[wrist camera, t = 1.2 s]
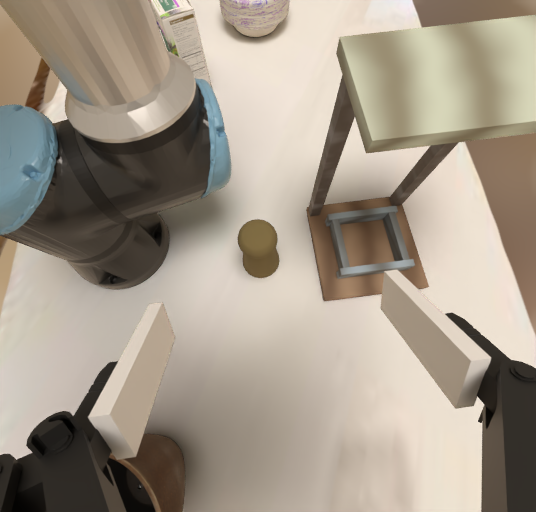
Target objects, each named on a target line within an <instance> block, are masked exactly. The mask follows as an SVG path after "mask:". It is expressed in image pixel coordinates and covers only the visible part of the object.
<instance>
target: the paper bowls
mask: <svg viewBox="0 0 536 512" xmlns="http://www.w3.org/2000/svg"><path fill="white" fill-rule="evenodd" d="M220 7H221V11H222V15H223V17H224V18H225V20H226V21H227V22H229V23H230V24H232V25H233V26H234V27H235V28H236V29H237V30H238V31H239V32H240V33H241V34H243V35H246V36H250V37H261V36H265V35H267V34H269V33H271V32H272V31H273V30H274V29H275V28H276V27H277V25H278V24H279V23H280V22H282V21H283V20H284V19H285V18H286V16H287V14H288V11H289V0H220Z"/></svg>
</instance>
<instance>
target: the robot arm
mask: <svg viewBox="0 0 536 512" xmlns="http://www.w3.org/2000/svg"><path fill="white" fill-rule="evenodd" d="M0 5H1V6H2V7H3V9H4V10H5V11H6V12H7V14H8V15H9V16H10V17H11V19H12V20H13V21H14V23H15V24H16V25H17V26H18V28H19V29H20V30H21V32H22V33H23V34H24V35H25V36H26V38H27V39H28V40H29V42H30V43H31V44H32V45H33V47H34V48H35V49H36V50H37V52H38V53H39V54H40V56H41V57H42V58H43V59H44V61H45V62H46V63H47V65H48V66H49V67H50V68H51V70H52V71H53V72H54V73H55V75H56V76H57V77H58V79H59V80H60V81H61V82H62V84H63V85H64V86H65V87H66V89H67V94H66V100H65V112H66V115H67V118H68V119H67V120H64V121H61V122H57V123H52V122H51V121H50V120H49V118H47V116H45V115H44V114H42V113H39V112H37V111H36V110H34V109H33V108H30V107H23V106H21V105H5V106H0V236H3V237H6V238H8V239H11V240H14V241H16V242H19V243H22V244H24V245H27V246H30V247H32V248H35V249H38V250H40V251H43V252H46V253H48V254H51V255H54V256H56V257H59V258H62V259H64V260H67V261H68V262H69V264H70V265H71V266H72V267H73V268H74V269H75V270H76V271H77V272H78V273H79V274H80V275H81V276H82V277H83V278H84V279H86V280H87V281H89V282H91V283H93V284H96V285H98V286H102V287H105V288H109V289H124V288H129V287H132V286H135V285H137V284H139V283H141V282H143V281H145V280H146V279H148V278H149V277H150V276H151V275H153V274H154V273H155V272H156V271H157V269H158V268H159V267H160V266H161V264H162V263H163V261H164V259H165V257H166V254H167V251H168V247H169V233H168V229H167V226H166V224H165V222H164V221H163V219H162V218H161V217H160V216H159V215H158V214H157V212H160V211H163V210H166V209H169V208H172V207H175V206H178V205H181V204H184V203H187V202H190V201H193V200H196V199H199V198H204V197H205V196H207V195H208V194H209V193H212V192H214V191H217V190H219V189H221V188H223V187H225V186H226V185H227V183H228V182H229V180H230V176H231V157H230V150H229V144H228V139H227V136H226V133H225V132H224V123H223V118H222V114H221V111H220V108H219V105H218V102H217V99H216V96H215V94H214V92H213V90H212V88H211V86H210V84H209V83H208V82H207V81H206V80H204V79H196V78H194V75H193V72H192V70H191V68H190V67H189V66H188V64H187V63H186V62H185V61H184V60H183V59H181V58H180V57H178V56H176V55H174V54H173V53H171V52H169V51H167V49H166V47H165V44H164V41H163V39H162V36H161V33H160V31H159V28H158V25H157V22H156V20H155V17H154V14H153V12H152V9H151V6H150V3H149V1H148V0H0ZM381 310H382V311H383V312H384V314H385V315H386V316H387V318H388V319H389V320H390V322H391V323H392V324H393V326H394V327H395V328H396V330H397V331H398V332H399V334H400V335H401V336H402V338H403V339H404V340H405V342H406V343H407V344H408V346H409V347H410V349H411V350H412V351H413V353H414V354H415V355H416V357H417V358H418V359H419V361H420V362H421V363H422V365H423V366H424V367H425V369H426V370H427V371H428V373H429V374H430V375H431V377H432V378H433V379H434V381H435V382H436V383H437V385H438V386H439V387H440V389H441V390H442V391H443V393H444V394H445V395H446V397H447V398H448V399H449V401H450V402H451V403H452V405H453V406H454V407H455V409H456V408H463V407H469V406H474V403H475V401H476V398H477V396H478V397H479V399H480V400H481V401H482V402H483V403H484V404H485V405H484V407H483V410H482V412H481V415H480V417H479V420H478V422H480V423H482V421H483V427H482V510H481V512H536V369H535V368H534V367H532V366H530V365H528V364H525V363H523V362H519V361H514V360H510V359H509V358H508V357H507V356H506V355H505V354H504V353H502V352H501V351H500V350H499V349H498V348H497V347H496V346H494V345H493V344H492V343H491V342H490V341H489V340H488V339H486V338H485V337H484V336H483V335H481V333H480V332H478V331H477V330H476V329H474V328H473V326H472V325H470V324H469V323H468V322H467V321H466V320H465V319H463V318H461V317H459V316H457V315H456V314H454V313H447V314H444V313H443V312H442V311H441V310H440V309H439V308H438V307H437V306H435V305H434V304H433V303H432V302H431V301H430V300H429V299H428V298H427V297H426V296H425V295H424V294H423V293H422V292H421V291H419V290H418V289H417V288H416V287H415V286H414V285H413V284H412V283H411V282H410V281H409V280H408V279H407V278H406V277H404V276H403V275H402V274H401V273H400V272H399V271H398V270H390V271H384V280H383V290H382V300H381ZM174 340H175V335H174V333H173V330H172V327H171V324H170V322H169V319H168V316H167V313H166V311H165V308H164V305H163V302H161V303H153V304H149V306H148V307H147V309H146V311H145V313H144V315H143V317H142V318H141V320H140V322H139V324H138V326H137V328H136V330H135V331H134V333H133V335H132V337H131V339H130V341H129V343H128V344H127V346H126V348H125V350H124V352H123V354H122V355H121V357H120V359H119V361H117V362H110V363H108V364H107V365H106V366H105V367H104V368H103V369H102V370H101V371H100V373H99V374H98V376H97V378H96V379H95V381H94V384H93V385H92V386H91V388H90V389H89V393H87V395H86V396H85V398H84V400H83V401H82V403H81V405H80V406H79V408H78V410H77V411H76V413H75V415H74V416H72V414H71V413H70V412H66V411H62V412H58V413H55V414H53V415H51V416H49V417H47V418H46V419H45V420H43V421H42V422H41V423H39V425H38V426H37V427H36V428H35V429H34V430H33V431H32V432H31V434H30V436H29V437H28V440H27V445H26V446H27V447H28V448H29V449H30V450H31V451H32V452H33V453H31V454H29V455H27V456H24V457H22V458H20V459H17V460H16V459H15V458H14V457H13V456H12V455H11V454H3V455H0V512H126V509H125V507H124V504H123V501H122V499H121V496H120V493H119V491H118V488H117V485H116V483H115V480H114V477H113V475H112V472H111V469H110V467H109V465H108V464H107V461H108V459H109V456H110V454H111V452H112V453H113V455H114V456H115V458H116V459H117V460H118V459H125V458H131V457H136V455H137V452H138V449H139V446H140V443H141V440H142V437H143V434H144V431H145V428H146V425H147V422H148V419H149V416H150V413H151V410H152V407H153V404H154V401H155V398H156V395H157V392H158V389H159V386H160V383H161V380H162V377H163V373H164V370H165V367H166V364H167V361H168V358H169V355H170V352H171V349H172V346H173V343H174Z"/></svg>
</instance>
